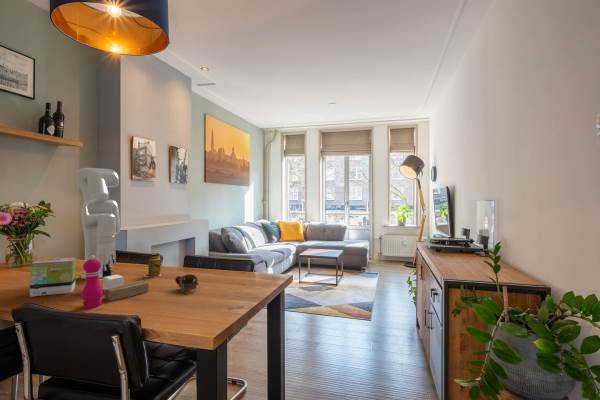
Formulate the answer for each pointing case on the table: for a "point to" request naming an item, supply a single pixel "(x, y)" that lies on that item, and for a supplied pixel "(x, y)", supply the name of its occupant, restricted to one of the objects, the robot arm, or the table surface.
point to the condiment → (154, 265)
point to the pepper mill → (92, 284)
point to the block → (112, 281)
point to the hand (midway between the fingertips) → (106, 278)
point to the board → (125, 290)
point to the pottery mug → (186, 282)
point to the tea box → (52, 276)
